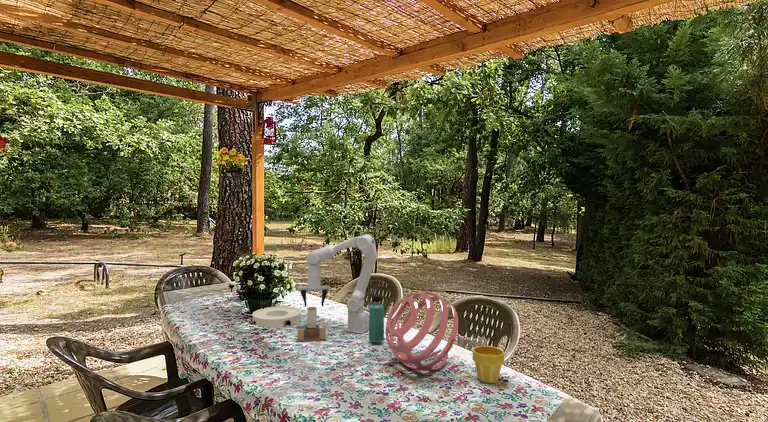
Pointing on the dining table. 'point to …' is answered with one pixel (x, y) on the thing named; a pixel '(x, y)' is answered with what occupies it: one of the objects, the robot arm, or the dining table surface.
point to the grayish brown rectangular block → (311, 317)
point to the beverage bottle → (376, 320)
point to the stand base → (311, 334)
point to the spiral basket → (404, 347)
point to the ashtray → (276, 316)
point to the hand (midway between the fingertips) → (314, 306)
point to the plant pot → (488, 363)
